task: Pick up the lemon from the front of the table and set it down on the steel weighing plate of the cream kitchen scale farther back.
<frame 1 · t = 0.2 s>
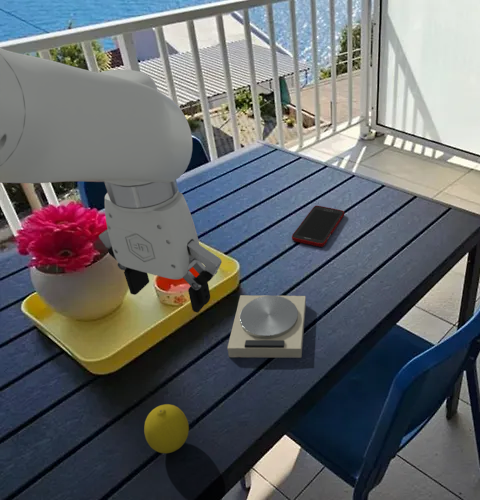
hand: (170, 296, 67), 18 cm above the table, tool pointing down, fingers open, 9 cm apart
lemon: (172, 446, 70), on the table
scale: (269, 329, 88), on the table
cell phone: (319, 227, 114), on the table
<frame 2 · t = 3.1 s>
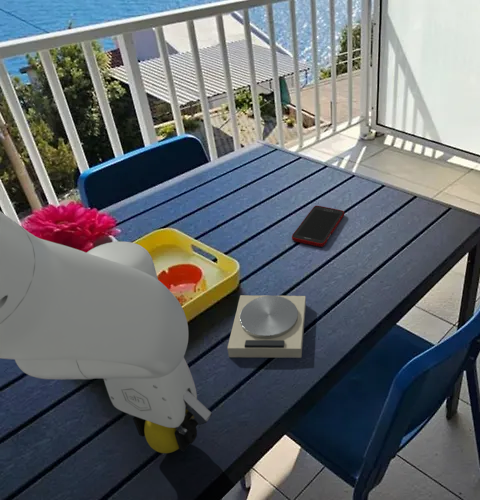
hand: (168, 433, 68), 3 cm above the table, tool pointing down, fingers closed on lemon, 5 cm apart
lemon: (172, 446, 70), on the table, touching gripper
everything else where it was.
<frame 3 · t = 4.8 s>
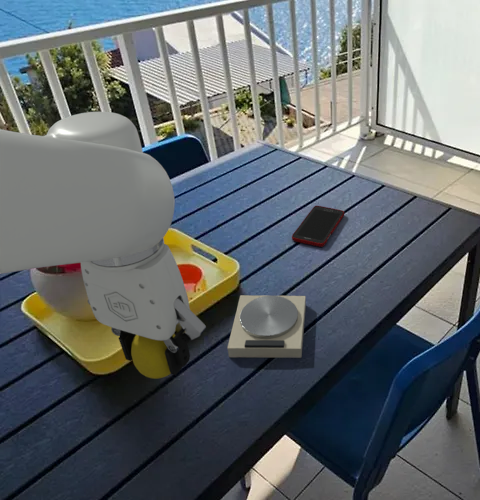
hand: (158, 358, 61), 16 cm above the table, tool pointing down, fingers closed on lemon, 5 cm apart
lemon: (163, 375, 63), point 13 cm above the table, touching gripper
everything else where it was.
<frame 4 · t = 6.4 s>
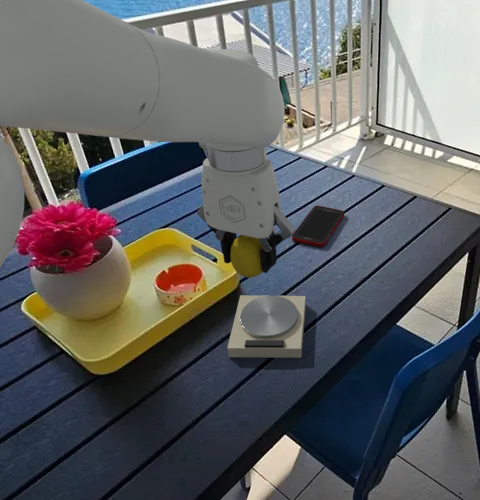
hand: (250, 261, 75), 17 cm above the table, tool pointing down, fingers closed on lemon, 5 cm apart
lemon: (252, 277, 77), point 14 cm above the table, touching gripper
everything else where it was.
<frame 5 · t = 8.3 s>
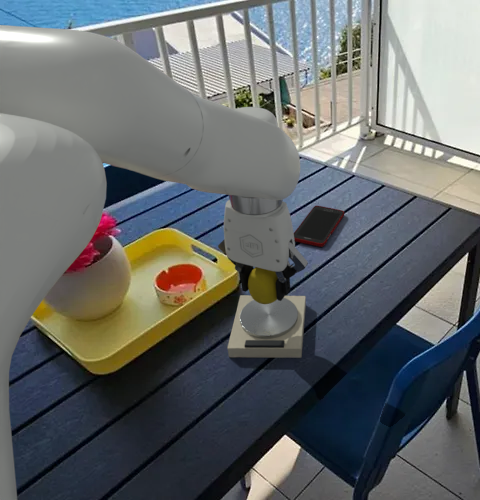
hand: (265, 290, 82), 9 cm above the table, tool pointing down, fingers closed on lemon, 5 cm apart
lemon: (267, 303, 84), point 6 cm above the table, touching gripper
everything else where it was.
when the fingers open (6 cm above the table, at t = 9.7 s): lemon stays where it is, resting on scale.
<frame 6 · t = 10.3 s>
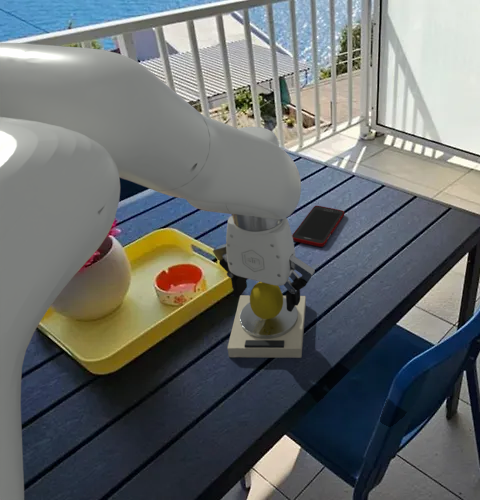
hand: (266, 299, 84), 7 cm above the table, tool pointing down, fingers open, 9 cm apart
lemon: (268, 318, 86), point 3 cm above the table, touching scale
everything else where it was.
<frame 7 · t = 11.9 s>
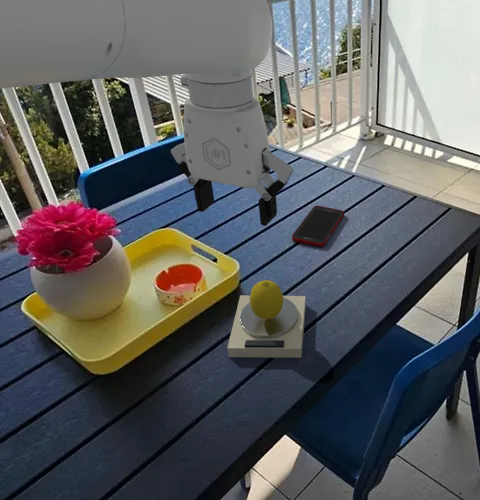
hand: (236, 213, 69), 26 cm above the table, tool pointing down, fingers open, 9 cm apart
nothing on the table moved.
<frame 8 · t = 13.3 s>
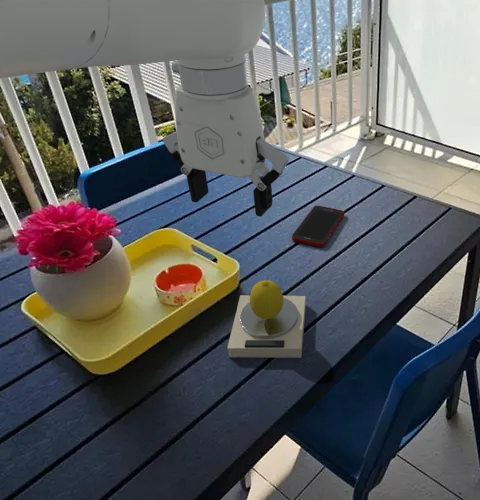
hand: (231, 204, 68), 28 cm above the table, tool pointing down, fingers open, 9 cm apart
nothing on the table moved.
at the end: lemon inside the target area on the scale (0.1 cm from its centre), point 2.8 cm above the scale's base; the gripper is holding nothing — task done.
